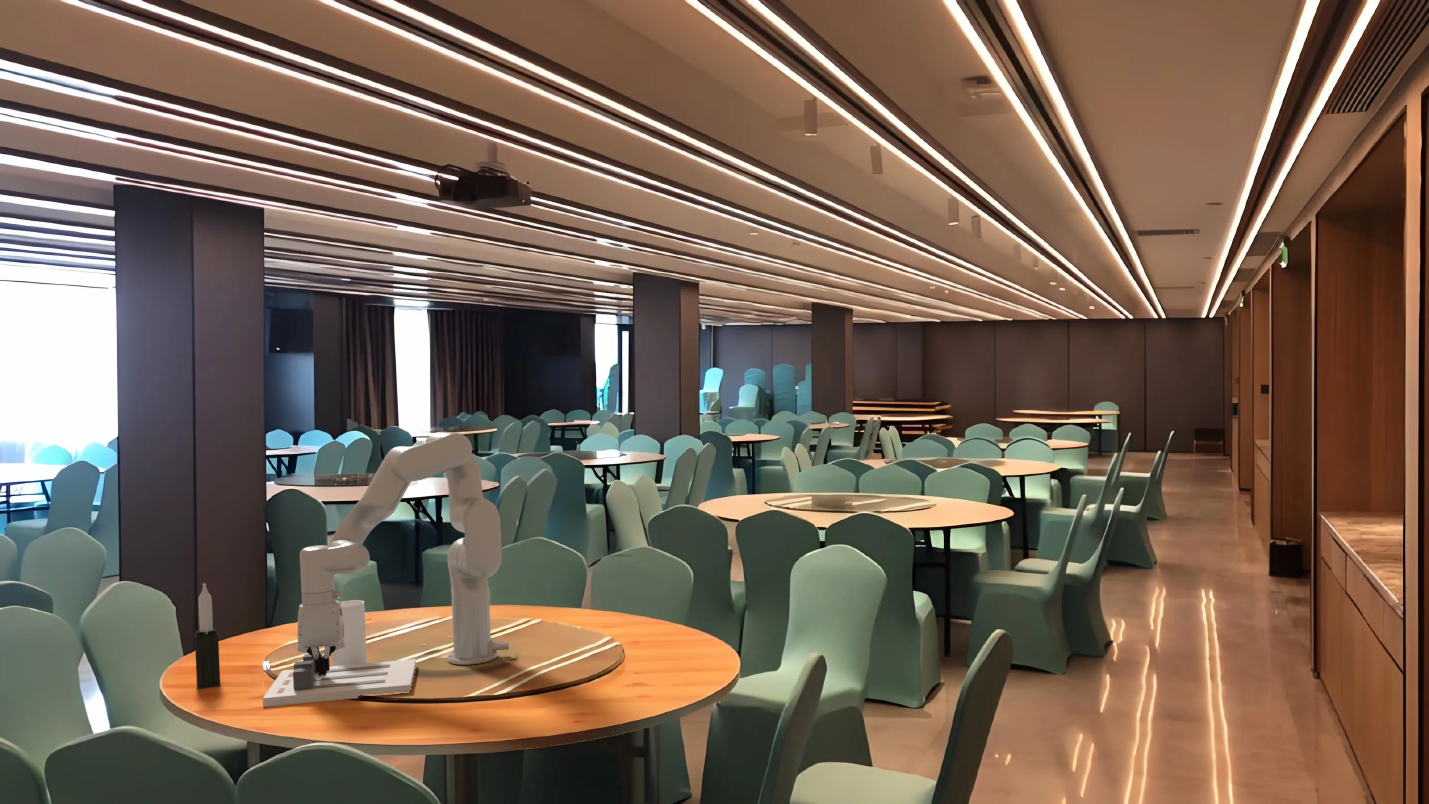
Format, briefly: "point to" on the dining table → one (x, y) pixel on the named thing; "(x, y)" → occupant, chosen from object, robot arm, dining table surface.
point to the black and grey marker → (206, 645)
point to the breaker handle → (304, 664)
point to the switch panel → (340, 682)
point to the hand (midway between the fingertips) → (323, 674)
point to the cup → (352, 634)
